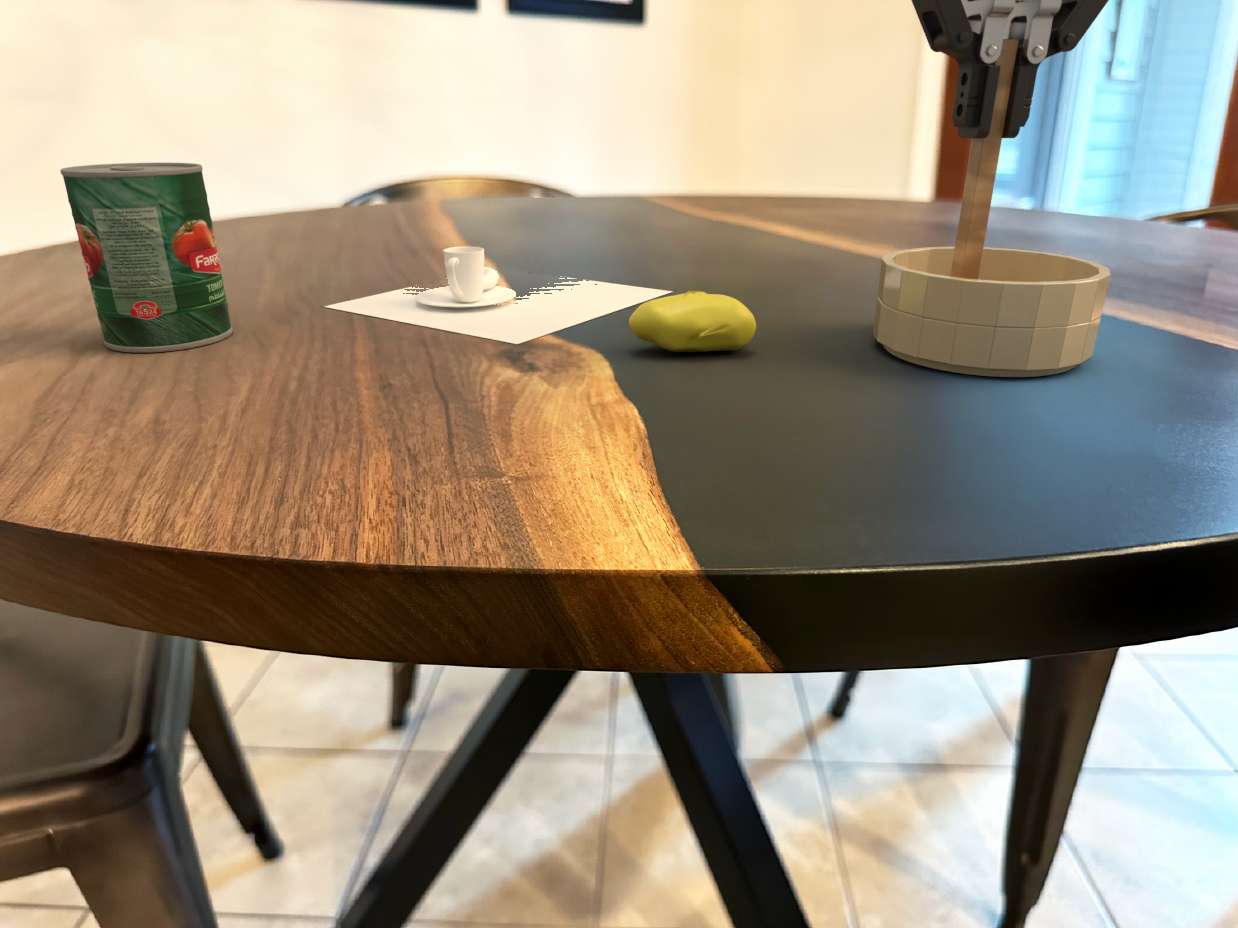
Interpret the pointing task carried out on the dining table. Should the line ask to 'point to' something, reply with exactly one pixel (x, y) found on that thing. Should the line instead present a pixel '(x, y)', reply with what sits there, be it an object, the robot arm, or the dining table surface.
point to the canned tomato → (149, 254)
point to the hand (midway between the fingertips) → (987, 136)
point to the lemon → (694, 322)
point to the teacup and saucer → (475, 294)
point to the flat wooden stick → (982, 176)
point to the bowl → (990, 311)
